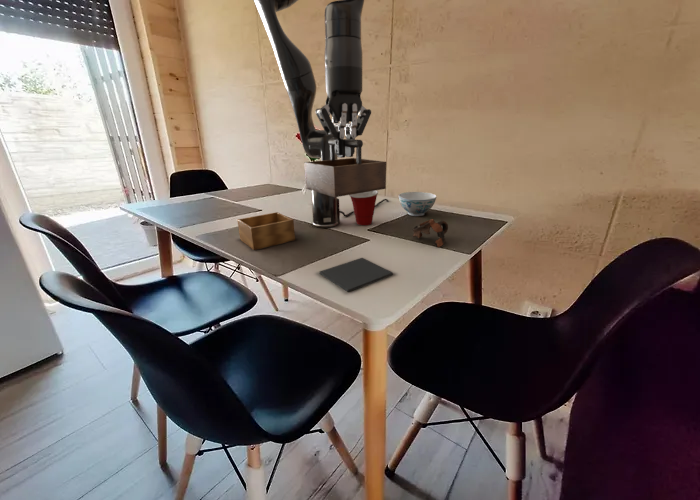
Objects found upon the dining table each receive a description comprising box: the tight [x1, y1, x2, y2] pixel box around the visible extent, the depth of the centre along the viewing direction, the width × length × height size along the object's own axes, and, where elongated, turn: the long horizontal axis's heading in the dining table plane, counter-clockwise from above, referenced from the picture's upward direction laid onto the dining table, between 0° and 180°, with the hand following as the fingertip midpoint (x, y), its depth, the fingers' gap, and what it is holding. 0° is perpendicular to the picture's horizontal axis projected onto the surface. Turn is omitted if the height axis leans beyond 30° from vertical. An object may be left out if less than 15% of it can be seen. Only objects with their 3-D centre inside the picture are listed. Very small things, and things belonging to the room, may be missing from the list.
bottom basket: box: [236, 211, 296, 251], centre depth 101 cm, size 14×12×7 cm
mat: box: [319, 257, 394, 293], centre depth 78 cm, size 14×12×1 cm
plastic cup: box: [348, 190, 379, 226], centre depth 116 cm, size 11×11×12 cm
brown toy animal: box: [412, 218, 449, 248], centre depth 98 cm, size 12×10×8 cm
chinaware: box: [398, 191, 437, 217], centre depth 128 cm, size 15×15×8 cm
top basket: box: [304, 138, 387, 198], centre depth 70 cm, size 14×12×11 cm
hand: (345, 156), depth 69 cm, fingers closed on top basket
